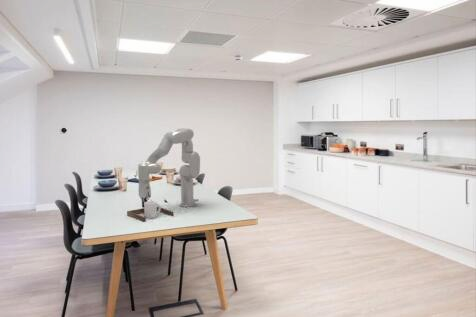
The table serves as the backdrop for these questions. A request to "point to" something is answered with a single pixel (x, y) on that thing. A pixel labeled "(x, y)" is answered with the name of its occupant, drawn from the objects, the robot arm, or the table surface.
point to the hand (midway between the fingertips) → (144, 207)
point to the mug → (151, 209)
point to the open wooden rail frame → (135, 212)
